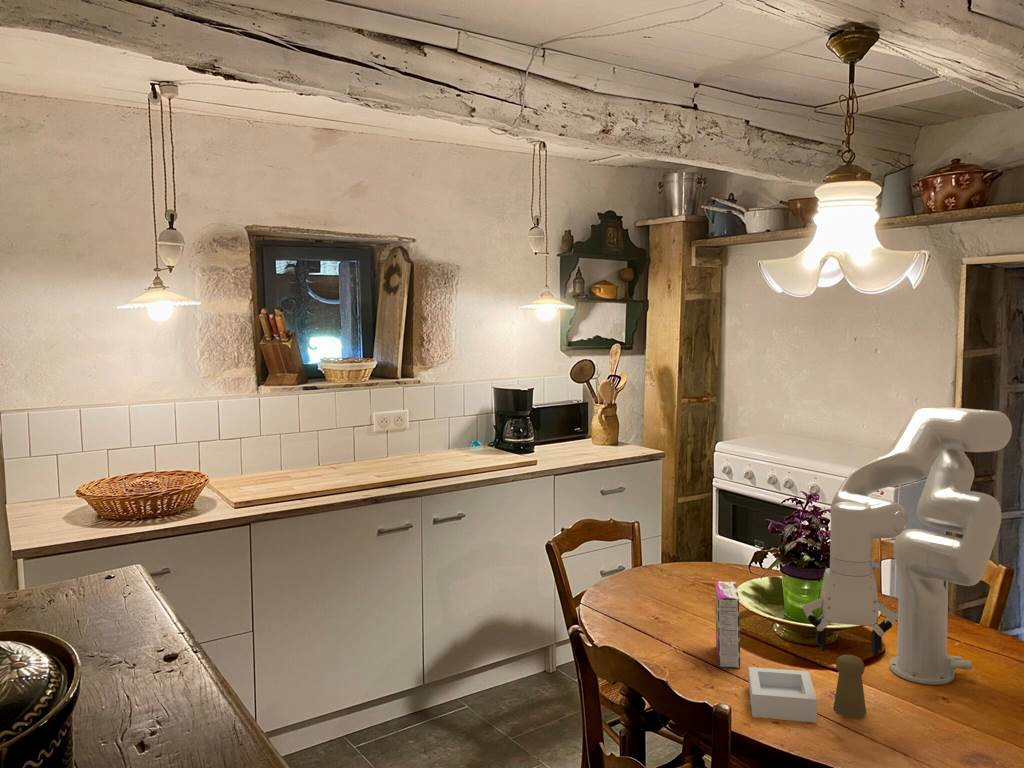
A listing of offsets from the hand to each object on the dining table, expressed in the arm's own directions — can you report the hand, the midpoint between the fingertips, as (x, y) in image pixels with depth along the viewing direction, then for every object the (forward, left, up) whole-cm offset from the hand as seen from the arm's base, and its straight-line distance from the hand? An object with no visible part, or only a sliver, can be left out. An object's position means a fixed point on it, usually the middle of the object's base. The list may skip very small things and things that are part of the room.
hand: (848, 650), depth 152 cm
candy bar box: (+22, -21, -13) cm, 33 cm away
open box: (+12, -1, -13) cm, 18 cm away
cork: (-1, -1, -13) cm, 13 cm away
